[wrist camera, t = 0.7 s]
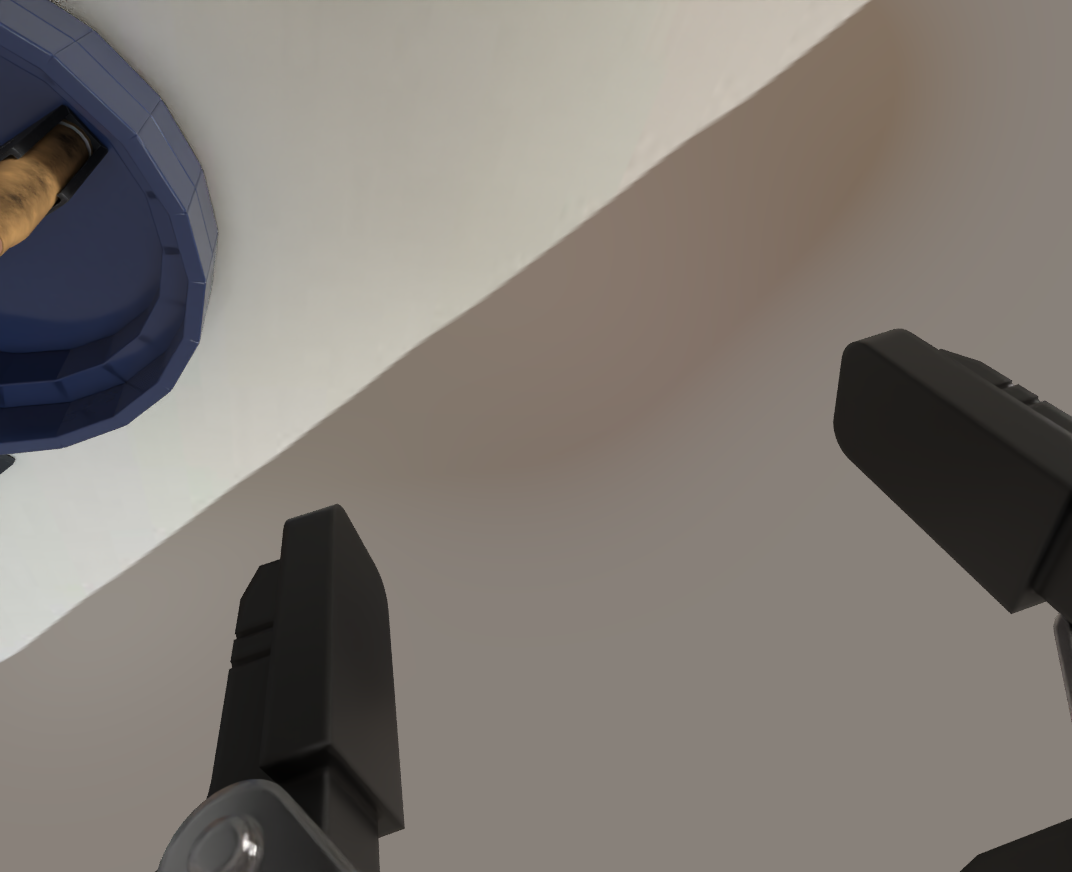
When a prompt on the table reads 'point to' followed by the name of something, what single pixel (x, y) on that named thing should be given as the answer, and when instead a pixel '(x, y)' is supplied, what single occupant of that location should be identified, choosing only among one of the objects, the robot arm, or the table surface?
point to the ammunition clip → (43, 171)
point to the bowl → (97, 244)
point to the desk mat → (5, 462)
